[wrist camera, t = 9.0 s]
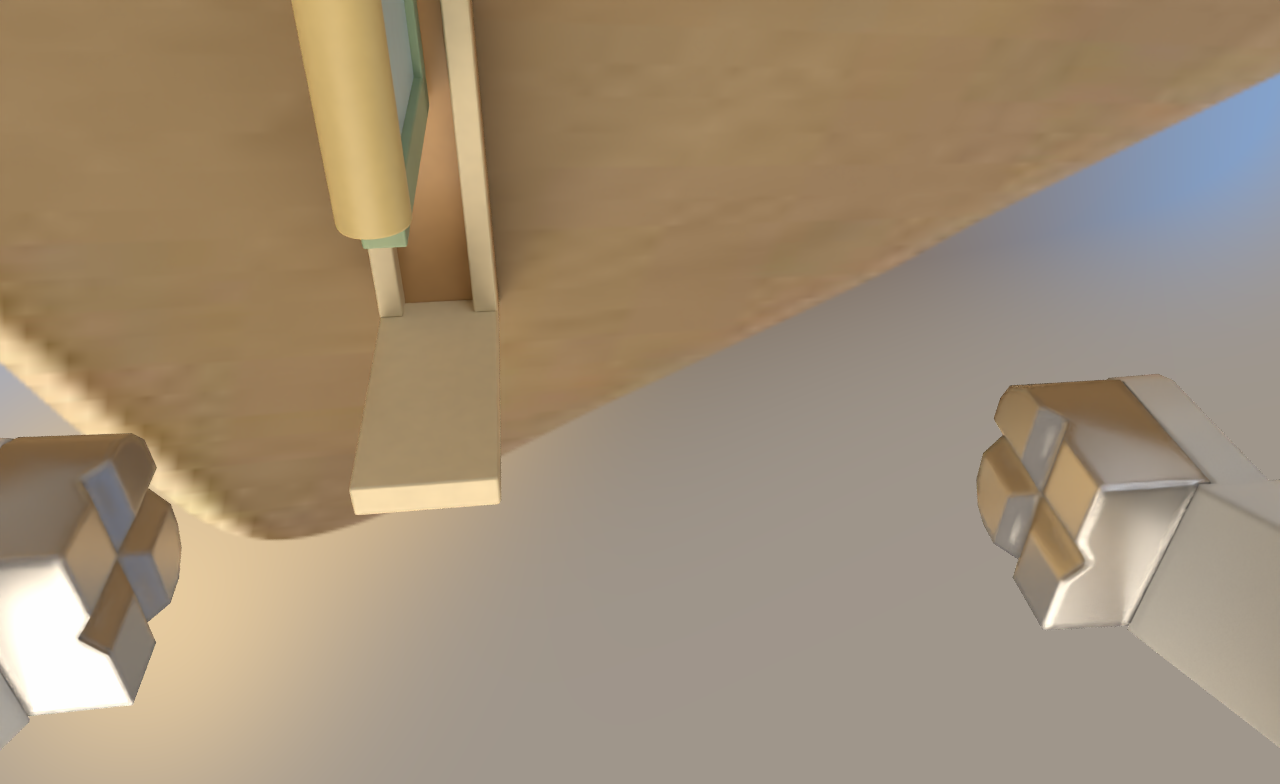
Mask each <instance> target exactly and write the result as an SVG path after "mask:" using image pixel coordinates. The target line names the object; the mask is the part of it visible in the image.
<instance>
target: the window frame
mask: <svg viewBox="0 0 1280 784" xmlns="http://www.w3.org/2000/svg"><path fill="white" fill-rule="evenodd" d="M417 9H418V17H419V25H420V33H421V41H422V49H423V57H424V65H425V74H426V82H427V90H428V98H429V111H428V117H427V123H426V129H425V135H424V142H423V148H422V154H421V161H420V167H419V173H418V179H417V186H416V192H415V198H414V205H413V211H412V221H411V224H410V230H409V237H408V244H407V246H406V247H394V248H373V249H368V253H369V259H370V264H371V270H372V276H373V281H374V287H375V292H376V298H377V304H378V309H379V315H380V317H381V318H380V324H379V329H378V335H377V340H376V346H375V351H374V357H373V362H372V368H371V373H370V378H369V384H368V389H367V395H366V400H365V406H364V411H363V417H362V422H361V428H360V433H359V439H358V444H357V450H356V455H355V460H354V466H353V471H352V477H351V482H350V488H349V491H350V495H351V500H352V504H353V508H354V512H355V514H356V515H364V514H377V513H390V512H402V511H415V510H428V509H441V508H454V507H467V506H479V505H491V504H499V503H500V502H501V437H500V338H499V296H498V285H497V274H496V263H495V252H494V241H493V230H492V219H491V208H490V197H489V186H488V175H487V164H486V153H485V142H484V131H483V120H482V109H481V98H480V87H479V76H478V65H477V54H476V43H475V32H474V21H473V10H472V0H417Z"/></svg>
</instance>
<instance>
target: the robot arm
mask: <svg viewBox="0 0 1280 784" xmlns="http://www.w3.org/2000/svg"><path fill="white" fill-rule="evenodd" d="M994 420H995V422H996V423H997V425H998V427H999V428H1000V430H1001V432H1002V433H1003V436H1002V437H1000V438H999V439H998V440H997V441H996V442H995V443H994V444H993V445H992V446H991V447H990V448H988V449H987V450H986V451H985V452H984V453H983V456H982V460H981V464H980V468H979V472H978V476H977V499H978V507H979V511H980V514H981V517H982V521H983V524H984V526H985V528H986V530H987V532H988V534H989V536H990V537H991V539H992V541H993V543H994V544H995V545H997V546H998V547H1000V548H1001V549H1003V550H1005V551H1006V552H1008V553H1009V554H1011V555H1012V556H1014V557H1015V558H1017V559H1018V562H1017V565H1016V568H1015V572H1014V575H1013V579H1014V580H1015V582H1016V584H1017V586H1018V587H1019V589H1020V591H1021V593H1022V594H1023V596H1024V598H1025V600H1026V601H1027V603H1028V605H1029V606H1030V608H1031V610H1032V612H1033V614H1034V615H1035V617H1036V619H1037V621H1038V622H1039V624H1040V626H1041V627H1042V629H1043V630H1057V629H1074V628H1093V627H1112V626H1129V627H1128V631H1130V632H1131V633H1132V634H1134V635H1135V636H1136V637H1137V638H1139V639H1140V640H1141V641H1143V642H1144V643H1145V644H1147V645H1148V646H1149V647H1150V648H1152V649H1153V650H1154V651H1156V652H1157V653H1158V654H1159V655H1161V656H1162V657H1163V658H1165V659H1166V660H1167V661H1168V662H1170V663H1171V664H1172V665H1174V666H1175V667H1176V668H1177V669H1179V670H1180V671H1181V672H1183V673H1184V674H1185V675H1187V676H1188V677H1189V678H1190V679H1192V680H1193V681H1194V682H1196V683H1197V684H1198V685H1199V686H1201V687H1202V688H1203V689H1205V690H1206V691H1207V692H1208V693H1210V694H1211V695H1212V696H1214V697H1215V698H1216V699H1218V700H1219V701H1220V702H1221V703H1223V704H1224V705H1225V706H1227V707H1228V708H1230V710H1232V711H1233V712H1234V713H1236V714H1237V715H1238V716H1239V717H1241V718H1242V719H1244V720H1245V721H1246V722H1247V723H1248V724H1250V725H1251V726H1252V727H1254V728H1255V729H1256V730H1258V731H1259V732H1260V733H1261V734H1263V735H1264V736H1265V737H1267V738H1268V739H1269V740H1271V741H1272V742H1273V743H1274V744H1276V745H1277V746H1278V747H1280V480H1268V479H1267V478H1266V477H1265V476H1264V475H1263V473H1261V471H1260V470H1259V469H1258V468H1257V467H1256V466H1255V465H1254V464H1253V463H1252V462H1251V461H1250V460H1249V459H1248V458H1247V457H1246V456H1245V455H1244V454H1243V453H1242V452H1241V451H1240V450H1239V448H1238V447H1237V446H1236V445H1235V444H1234V443H1233V442H1232V441H1231V440H1230V439H1229V438H1228V437H1227V436H1226V435H1225V434H1224V433H1223V432H1222V431H1221V430H1220V429H1219V428H1218V427H1217V426H1216V425H1215V423H1214V422H1213V421H1212V420H1210V418H1209V417H1208V416H1207V415H1206V414H1205V413H1204V412H1203V411H1202V410H1201V409H1200V408H1199V407H1198V406H1197V405H1196V404H1195V403H1194V402H1193V401H1192V399H1191V398H1190V397H1189V396H1188V395H1187V394H1186V393H1185V392H1184V391H1183V390H1182V389H1181V388H1180V387H1179V386H1178V385H1177V384H1176V383H1175V382H1174V381H1173V380H1171V379H1169V378H1166V377H1164V376H1162V375H1159V374H1151V375H1140V376H1127V377H1115V378H1108V379H1107V380H1094V381H1077V382H1061V383H1044V384H1027V385H1011V386H1009V388H1008V389H1007V390H1006V392H1005V393H1004V394H1003V395H1002V397H1001V398H1000V401H999V404H998V407H997V410H996V413H995V416H994ZM156 468H157V467H156V465H155V463H154V460H153V458H152V456H151V454H150V451H149V449H148V447H147V444H146V442H145V440H144V439H142V438H140V437H138V436H136V435H134V434H132V433H128V434H99V435H70V436H44V437H43V436H41V437H18V438H16V439H11V438H0V750H1V749H2V748H3V747H4V746H5V745H6V744H7V743H8V742H9V741H10V740H11V739H12V738H13V737H14V736H15V735H16V734H17V733H18V732H19V731H20V730H21V729H22V728H23V727H24V726H25V725H26V724H28V723H29V718H28V716H34V715H43V714H52V713H60V712H70V711H80V710H88V709H99V708H108V707H117V706H126V705H133V703H134V700H135V697H136V695H137V692H138V689H139V687H140V684H141V681H142V679H143V676H144V673H145V671H146V668H147V665H148V662H149V660H150V657H151V655H152V652H153V649H154V646H155V644H156V641H155V639H154V637H153V634H152V632H151V630H150V628H149V625H148V623H147V622H148V621H150V620H151V619H152V618H153V617H154V616H155V615H156V614H158V613H159V612H160V611H161V610H163V609H164V608H165V607H166V606H167V605H168V604H170V602H171V600H172V597H173V594H174V591H175V588H176V585H177V582H178V579H179V571H180V559H181V542H180V535H179V528H178V523H177V520H176V518H175V515H174V512H173V509H172V507H171V504H170V503H168V502H167V501H166V500H164V499H163V498H161V497H160V496H158V495H157V494H156V493H154V492H153V491H151V490H150V489H148V487H149V484H150V482H151V480H152V477H153V475H154V473H155V470H156Z"/></svg>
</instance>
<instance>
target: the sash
mask: <svg viewBox="0 0 1280 784" xmlns="http://www.w3.org/2000/svg"><path fill="white" fill-rule="evenodd" d="M291 2H292V7H293V12H294V17H295V22H296V27H297V33H298V38H299V43H300V48H301V53H302V58H303V63H304V68H305V73H306V78H307V83H308V88H309V94H310V99H311V104H312V109H313V114H314V119H315V124H316V129H317V134H318V139H319V144H320V149H321V155H322V160H323V165H324V170H325V175H326V180H327V185H328V190H329V195H330V200H331V205H332V211H333V216H334V221H335V226H336V228H337V229H338V231H339V232H340V233H341V234H343V235H345V236H347V237H350V238H354V239H361V241H362V247H363V248H364V249H373V248H394V247H406V246H407V244H408V237H409V230H410V224H411V221H412V211H413V205H414V198H415V192H416V186H417V179H418V173H419V167H420V161H421V154H422V148H423V142H424V135H425V129H426V123H427V117H428V111H429V98H428V90H427V82H426V74H425V65H424V57H423V49H422V41H421V33H420V25H419V17H418V9H417V0H291Z"/></svg>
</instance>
